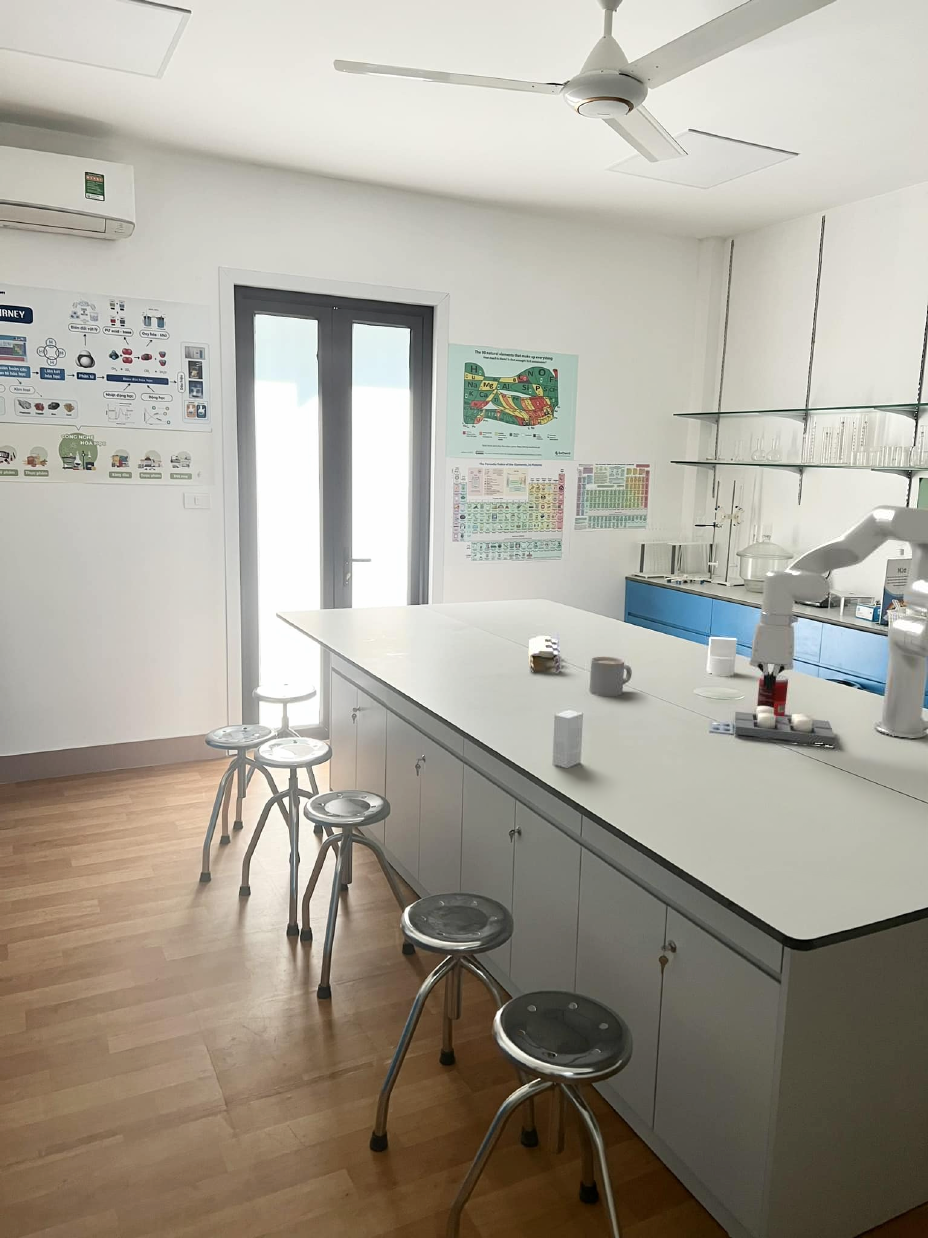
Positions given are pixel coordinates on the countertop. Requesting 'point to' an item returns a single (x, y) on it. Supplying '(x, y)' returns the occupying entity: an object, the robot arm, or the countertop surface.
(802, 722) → the button
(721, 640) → the cylinder with rectangular tab
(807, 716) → the button
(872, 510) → the robot arm
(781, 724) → the button board
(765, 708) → the button
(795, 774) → the countertop surface
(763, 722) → the button
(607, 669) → the coffee mug
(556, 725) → the skincare box
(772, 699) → the canned food
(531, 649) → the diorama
